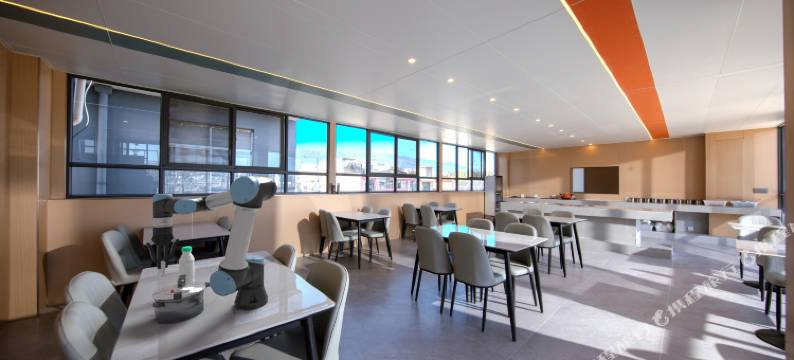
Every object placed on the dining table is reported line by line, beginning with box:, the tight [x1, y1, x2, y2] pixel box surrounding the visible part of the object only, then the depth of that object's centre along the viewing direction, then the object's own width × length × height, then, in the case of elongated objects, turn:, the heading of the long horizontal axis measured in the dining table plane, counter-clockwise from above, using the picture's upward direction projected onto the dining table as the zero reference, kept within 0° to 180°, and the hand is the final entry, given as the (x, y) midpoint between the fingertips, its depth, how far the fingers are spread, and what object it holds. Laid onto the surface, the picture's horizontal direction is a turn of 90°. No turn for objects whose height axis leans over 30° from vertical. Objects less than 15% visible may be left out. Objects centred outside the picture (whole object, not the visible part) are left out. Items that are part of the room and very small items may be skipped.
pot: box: [152, 281, 211, 325], centre depth 136 cm, size 26×19×10 cm
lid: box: [151, 274, 207, 301], centre depth 136 cm, size 28×20×4 cm
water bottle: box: [178, 245, 196, 283], centre depth 161 cm, size 7×7×25 cm
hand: (162, 275), depth 139 cm, fingers closed
